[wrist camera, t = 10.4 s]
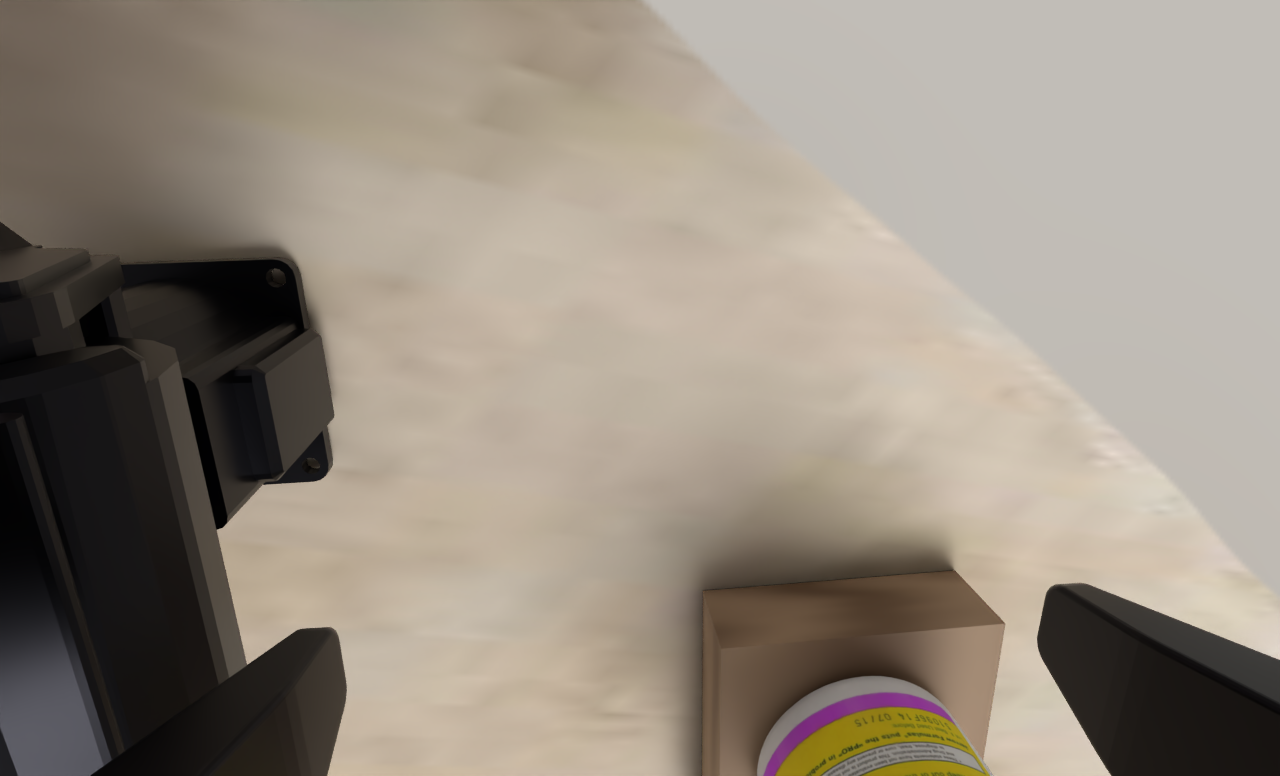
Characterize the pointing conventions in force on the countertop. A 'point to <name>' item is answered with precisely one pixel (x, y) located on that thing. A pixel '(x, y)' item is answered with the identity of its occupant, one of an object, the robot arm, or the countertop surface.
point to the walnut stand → (840, 653)
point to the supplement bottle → (869, 734)
